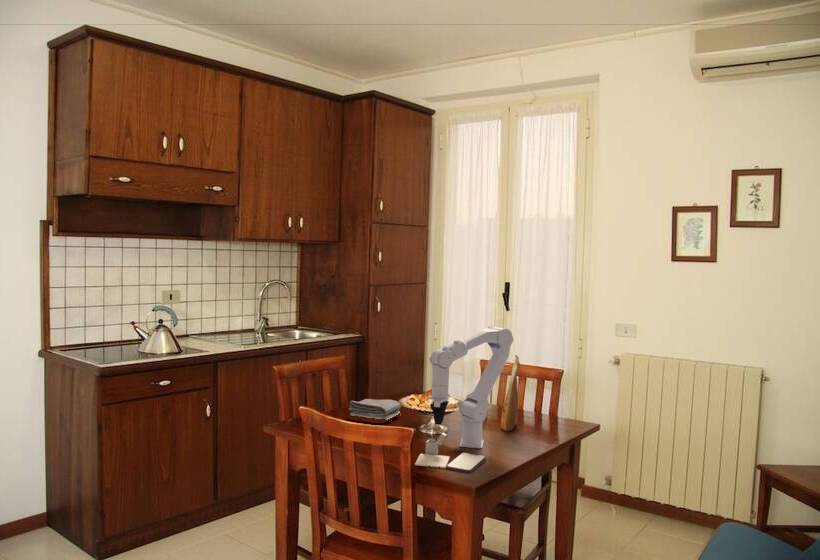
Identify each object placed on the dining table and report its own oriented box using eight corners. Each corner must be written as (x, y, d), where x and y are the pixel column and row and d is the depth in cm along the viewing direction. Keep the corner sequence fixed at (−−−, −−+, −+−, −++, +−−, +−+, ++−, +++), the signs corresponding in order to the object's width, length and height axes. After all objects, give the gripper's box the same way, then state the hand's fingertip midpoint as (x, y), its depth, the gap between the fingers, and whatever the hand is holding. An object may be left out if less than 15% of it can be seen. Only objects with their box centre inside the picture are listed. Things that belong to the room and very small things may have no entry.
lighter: (425, 453, 217) (425, 430, 217) (427, 452, 219) (428, 429, 219) (443, 457, 214) (444, 434, 214) (446, 456, 216) (446, 432, 215)
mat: (420, 454, 216) (420, 453, 216) (449, 457, 214) (449, 456, 214) (414, 465, 205) (414, 463, 205) (445, 468, 203) (445, 466, 203)
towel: (386, 426, 252) (387, 406, 251) (345, 420, 259) (346, 401, 258) (401, 417, 266) (402, 399, 265) (362, 412, 273) (362, 394, 272)
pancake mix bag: (520, 421, 265) (523, 354, 264) (516, 433, 246) (519, 361, 245) (504, 419, 267) (507, 353, 265) (498, 431, 248) (501, 360, 247)
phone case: (470, 475, 199) (487, 460, 213) (470, 470, 199) (487, 455, 213) (444, 471, 203) (462, 456, 217) (444, 466, 203) (462, 451, 217)
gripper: (431, 379, 229) (430, 416, 230) (425, 387, 215) (424, 427, 216) (451, 381, 228) (450, 418, 229) (446, 389, 214) (445, 429, 214)
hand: (438, 423), depth 222 cm, fingers open, 3 cm apart
